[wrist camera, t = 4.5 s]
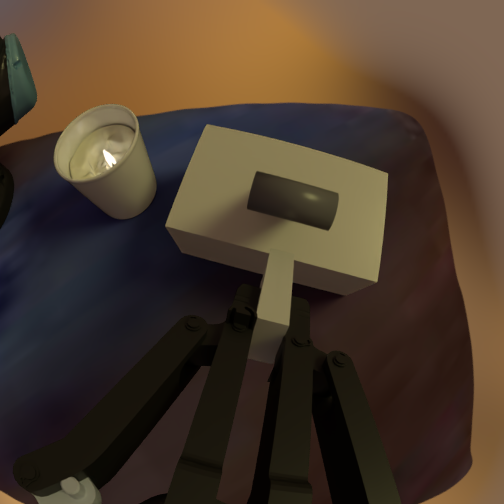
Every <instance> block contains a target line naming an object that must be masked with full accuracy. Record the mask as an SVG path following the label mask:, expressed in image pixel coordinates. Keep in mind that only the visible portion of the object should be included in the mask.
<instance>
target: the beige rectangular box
mask: <svg viewBox="0 0 504 504" xmlns="http://www.w3.org/2000/svg"><path fill="white" fill-rule="evenodd" d="M256 171H260V172H264V173H268V174H272V175H276V176H280V177H283V178H287V179H291V180H295V181H298V182H302V183H306V184H309V185H313V186H316V187H320V188H323V189H326V190H330V191H333V192H336V193H338V194H339V202H338V208H337V212H336V215H335V219H334V221H333V224H332V226H331V228H330V229H329V231H326V230H322V229H319V228H315V227H311V226H308V225H304V224H301V223H297V222H293V221H290V220H286V219H282V218H278V217H275V216H271V215H267V214H263V213H259V212H255V211H252V210H248V209H247V204H248V199H249V194H250V190H251V186H252V183H253V179H254V176H255V173H256ZM387 183H388V173H385V172H382V171H380V170H377V169H374V168H371V167H368V166H365V165H362V164H359V163H356V162H353V161H350V160H347V159H344V158H341V157H337V156H334V155H331V154H328V153H324V152H321V151H317V150H314V149H310V148H307V147H303V146H300V145H296V144H292V143H288V142H284V141H280V140H276V139H272V138H268V137H264V136H260V135H256V134H251V133H247V132H242V131H237V130H233V129H228V128H223V127H218V126H212V125H207V124H206V127H205V129H204V131H203V133H202V135H201V138H200V140H199V142H198V145H197V147H196V149H195V152H194V154H193V156H192V159H191V161H190V163H189V166H188V168H187V171H186V173H185V176H184V178H183V180H182V183H181V185H180V188H179V191H178V193H177V196H176V198H175V201H174V203H173V206H172V209H171V211H170V214H169V217H168V219H167V222H166V225H165V227H166V228H167V230H168V232H169V233H170V235H171V236H172V238H173V239H174V241H175V243H176V244H177V246H178V247H179V249H180V250H181V252H182V253H185V254H189V255H192V256H196V257H200V258H203V259H207V260H211V261H214V262H218V263H222V264H225V265H229V266H233V267H236V268H240V269H244V270H248V271H251V272H255V273H259V274H263V273H264V270H265V266H266V263H267V259H268V256H269V252H270V249H271V248H273V249H277V250H280V251H284V252H288V253H291V254H294V268H293V282H294V283H297V284H301V285H305V286H309V287H313V288H317V289H321V290H325V291H329V292H333V293H337V294H341V295H345V296H346V295H348V294H351V293H353V292H355V291H358V290H360V289H362V288H365V287H367V286H369V285H372V284H374V283H376V282H377V280H378V273H379V266H380V259H381V251H382V242H383V233H384V223H385V212H386V199H387Z"/></svg>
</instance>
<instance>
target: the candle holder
mask: <svg viewBox="0 0 504 504" xmlns="http://www.w3.org/2000/svg"><path fill="white" fill-rule="evenodd" d="M54 165H55V168H56V170H57V172H58V174H59V175H60V176H61V177H62V178H63V179H65V180H66V181H68V182H69V183H70V184H71V185H72V186H74V187H75V188H76V189H77V190H78V191H79V192H80V193H82V194H83V195H84V196H85V197H86V198H88V199H89V200H90V201H91V202H92V203H93V204H95V205H96V206H97V207H98V208H99V209H101V210H102V211H103V212H104V213H106V214H107V215H109V216H110V217H113V218H116V219H129V218H132V217H135V216H137V215H139V214H140V213H142V212H143V211H144V210H145V209H146V208H147V207H148V206H149V205H150V204H151V202H152V200H153V199H154V196H155V193H156V188H157V183H156V178H155V174H154V171H153V168H152V165H151V162H150V159H149V156H148V153H147V150H146V147H145V144H144V141H143V138H142V135H141V132H140V129H139V124H138V120H137V118H136V116H135V114H134V113H133V112H132V111H131V110H130V109H128V108H127V107H124V106H121V105H117V104H106V105H101V106H97V107H94V108H92V109H89V110H87V111H86V112H84V113H82V114H81V115H79V116H78V117H77V118H75V119H74V120H73V121H72V122H71V123H70V124H69V125H68V126H67V127H66V128H65V130H64V131H63V133H62V134H61V136H60V137H59V139H58V142H57V144H56V147H55V151H54Z"/></svg>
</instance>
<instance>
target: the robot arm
mask: <svg viewBox="0 0 504 504" xmlns="http://www.w3.org/2000/svg"><path fill="white" fill-rule="evenodd" d="M36 101H37V92H36V88H35V84H34V81H33V78H32V75H31V72H30V69H29V66H28V63H27V60H26V57H25V54H24V52H23V49H22V47H21V44H20V42H19V39H18V38H17V37H16V35H15V34H14V33H13V34H10V35H7V36H5V37H4V39H2V38H1V37H0V136H1V135H2V134H4V133H5V132H6V131H7V130H8V129H10V128H11V127H12V126H13V125H15V124H17V123H18V121H19V119H21V118H22V117H23V116H24V115H25V114H27V113H28V112H29V111H30V110H31V109H32V108H33V107H34V106H35V103H36ZM13 191H14V182H13V177H12V174H11V173H10V171H9V170H8V169H7V168H6V167H4V166H3V165H2V164H1V163H0V228H1V227H2V225H3V223H4V221H5V219H6V217H7V214H8V212H9V209H10V206H11V202H12V198H13ZM293 268H294V254H291V253H288V252H284V251H280V250H277V249H273V248H271V249H270V252H269V256H268V259H267V263H266V266H265V270H264V273H263V277H262V280H261V284H260V288H258V287H254V286H251V285H247V284H242V285H241V286H240V287H239V288H238V289H237V292H236V295H235V298H234V301H233V304H232V306H231V307H230V308H229V309H228V313H227V318H226V321H225V322H223V323H221V324H215V325H211V324H207V323H206V321H205V320H204V319H202V318H201V317H198V316H195V315H188V316H184V317H183V318H181V319H180V320H179V321H178V322H177V323H176V324H175V325H174V326H173V327H172V328H171V329H170V330H169V331H168V332H167V333H166V334H165V335H164V336H163V337H162V338H161V339H160V340H159V342H158V343H157V344H156V345H155V346H154V347H153V348H152V349H151V350H150V351H149V352H148V353H147V354H146V355H145V356H144V357H143V358H142V359H141V360H140V361H139V362H138V363H137V364H136V365H135V366H134V367H133V368H132V369H131V370H130V371H129V372H128V373H127V374H126V375H125V376H124V377H123V378H122V379H121V380H120V381H119V382H118V383H117V384H116V385H115V386H114V387H113V388H112V389H111V391H110V392H109V393H108V394H107V395H106V396H105V397H104V398H103V399H102V400H101V401H100V402H99V403H98V404H97V405H96V406H95V407H94V408H93V409H92V410H91V411H90V412H89V413H88V414H87V415H86V416H85V417H84V418H83V419H82V420H81V421H80V422H79V423H78V424H77V425H76V426H75V427H74V428H73V429H72V431H71V432H70V433H69V434H68V435H67V436H66V437H65V438H63V439H61V440H59V441H57V442H54V443H52V444H50V445H47V446H45V447H43V448H40V449H38V450H36V451H33V452H31V453H28V454H26V455H23V456H21V457H20V458H18V459H17V460H16V462H15V463H14V465H13V474H14V477H15V480H16V481H17V483H18V484H19V485H20V486H21V487H23V488H24V489H25V490H27V491H29V492H30V493H31V494H33V495H34V496H35V498H36V499H37V501H38V503H39V504H101V500H102V498H101V494H100V492H99V491H98V490H99V489H100V488H102V487H103V486H104V485H105V484H107V483H108V482H109V481H110V480H111V479H112V478H113V477H114V476H115V475H116V474H117V472H118V471H119V470H120V469H121V468H122V466H123V465H124V464H125V463H126V461H127V460H128V459H129V458H130V456H131V455H132V454H133V453H134V452H135V450H136V449H137V448H138V447H139V445H140V444H141V443H142V442H143V440H144V439H145V438H146V437H147V435H148V434H149V433H150V432H151V430H152V429H153V428H154V427H155V425H156V424H157V423H158V421H159V420H160V419H161V418H162V416H163V415H164V414H165V413H166V411H167V410H168V409H169V407H170V406H171V405H172V404H173V402H174V401H175V400H176V399H177V397H178V396H179V395H180V393H181V392H182V391H183V389H184V388H185V387H186V386H187V384H188V383H189V382H190V380H191V379H192V378H193V376H194V375H195V374H196V373H197V371H198V370H199V369H200V367H201V366H211V368H210V371H209V374H208V377H207V380H206V383H205V386H204V389H203V392H202V395H201V398H200V401H199V404H198V407H197V410H196V413H195V416H194V419H193V422H192V425H191V428H190V431H189V434H188V437H187V440H186V443H185V446H184V449H183V452H182V455H181V457H180V459H179V461H178V464H177V466H176V469H175V472H174V475H173V478H172V482H171V485H170V488H169V491H168V493H166V494H161V495H157V496H154V497H151V498H149V499H147V500H145V501H143V502H142V503H140V504H225V503H223V502H221V501H219V500H217V499H216V496H217V492H218V488H219V483H220V479H221V475H222V466H223V462H224V457H225V453H226V449H227V445H228V441H229V436H230V432H231V428H232V424H233V419H234V415H235V411H236V406H237V402H238V398H239V393H240V389H241V385H242V380H243V376H244V371H245V367H246V362H247V358H249V359H253V360H257V361H261V362H265V363H269V364H273V363H274V360H275V364H274V368H273V370H272V372H271V374H270V377H269V379H268V381H267V382H270V385H269V391H268V398H267V404H266V410H265V416H264V422H263V429H262V434H261V440H260V446H259V452H258V458H257V463H256V469H255V474H254V480H253V485H252V490H251V494H250V497H249V499H248V502H247V504H312V486H311V484H310V483H308V467H309V453H310V436H311V416H312V415H313V419H314V423H315V428H316V432H317V436H318V441H319V445H320V449H321V454H322V458H323V463H324V467H325V471H326V476H327V481H328V485H329V490H330V494H331V499H332V503H333V504H401V501H400V497H399V494H398V491H397V488H396V484H395V481H394V478H393V475H392V472H391V468H390V465H389V462H388V459H387V456H386V453H385V450H384V447H383V444H382V441H381V438H380V436H379V433H378V430H377V427H376V424H375V421H374V418H373V416H372V413H371V410H370V407H369V404H368V402H367V399H366V396H365V394H364V391H363V388H362V385H361V383H360V380H359V378H358V375H357V372H356V370H355V367H354V364H353V362H352V360H351V358H350V357H349V356H348V355H347V354H345V353H343V352H341V351H332V352H330V353H329V354H326V353H324V352H322V351H320V350H318V349H317V348H315V347H314V346H313V342H312V340H311V339H310V306H309V304H308V302H307V300H306V299H303V298H299V297H295V296H291V295H292V282H293Z"/></svg>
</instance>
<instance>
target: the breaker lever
mask: <svg viewBox="0 0 504 504" xmlns="http://www.w3.org/2000/svg"><path fill="white" fill-rule="evenodd" d="M338 202H339V194H338V193H336V192H333V191H330V190H326V189H323V188H320V187H316V186H313V185H309V184H306V183H302V182H298V181H295V180H291V179H287V178H283V177H280V176H276V175H272V174H268V173H264V172H260V171H256V173H255V176H254V179H253V183H252V186H251V190H250V194H249V199H248V204H247V209H248V210H252V211H255V212H259V213H263V214H267V215H271V216H275V217H278V218H282V219H286V220H290V221H293V222H297V223H301V224H304V225H308V226H311V227H315V228H319V229H322V230H326V231H329V229H330V228H331V226H332V224H333V221H334V219H335V215H336V212H337V208H338Z"/></svg>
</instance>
